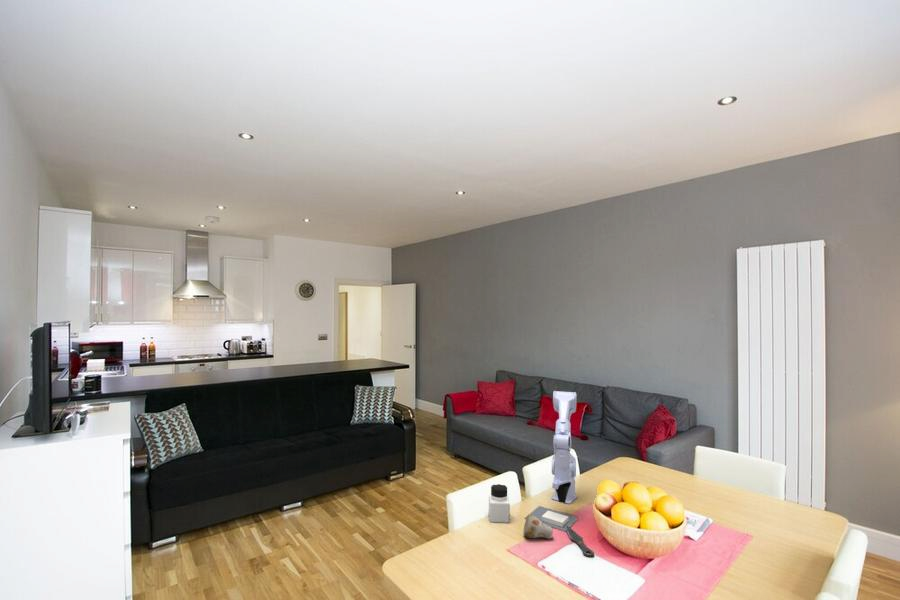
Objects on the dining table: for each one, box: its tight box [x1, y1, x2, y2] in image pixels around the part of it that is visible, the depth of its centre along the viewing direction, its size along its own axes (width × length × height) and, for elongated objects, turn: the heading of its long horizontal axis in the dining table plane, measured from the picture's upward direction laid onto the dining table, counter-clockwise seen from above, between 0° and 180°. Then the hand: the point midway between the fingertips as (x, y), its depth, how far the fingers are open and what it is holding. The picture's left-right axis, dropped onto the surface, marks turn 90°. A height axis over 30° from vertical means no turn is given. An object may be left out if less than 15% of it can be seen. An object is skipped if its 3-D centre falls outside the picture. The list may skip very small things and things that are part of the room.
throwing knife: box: [565, 525, 595, 558], centre depth 142 cm, size 4×20×1 cm, turn 8°
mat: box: [524, 505, 579, 533], centre depth 158 cm, size 13×16×1 cm
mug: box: [522, 514, 554, 540], centre depth 145 cm, size 8×10×10 cm
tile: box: [542, 511, 569, 527], centre depth 155 cm, size 2×8×6 cm
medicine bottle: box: [488, 483, 511, 524], centre depth 158 cm, size 7×7×12 cm
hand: (562, 501), depth 161 cm, fingers closed
